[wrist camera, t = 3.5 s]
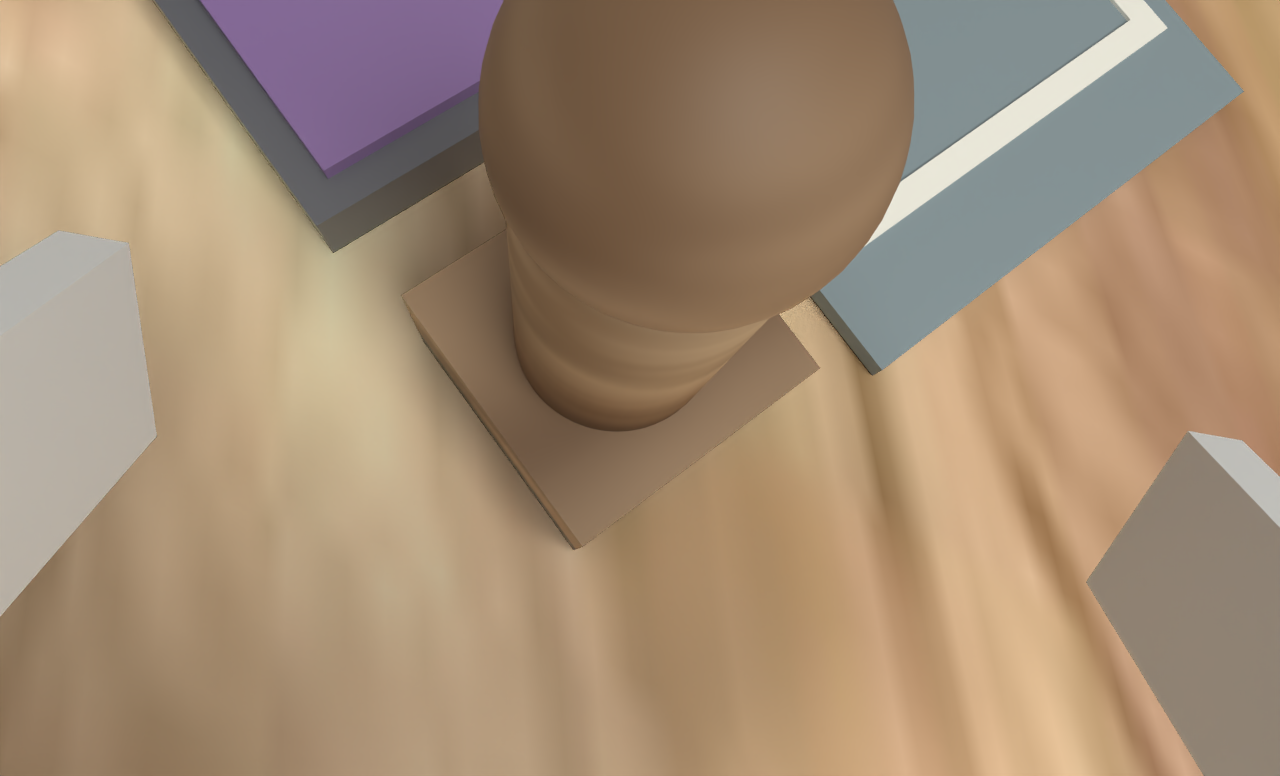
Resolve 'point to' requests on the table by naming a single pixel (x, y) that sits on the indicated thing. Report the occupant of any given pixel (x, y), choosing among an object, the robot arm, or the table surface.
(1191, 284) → the table surface
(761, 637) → the table surface
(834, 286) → the form board
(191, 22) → the ink pad
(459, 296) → the stamp
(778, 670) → the table surface
